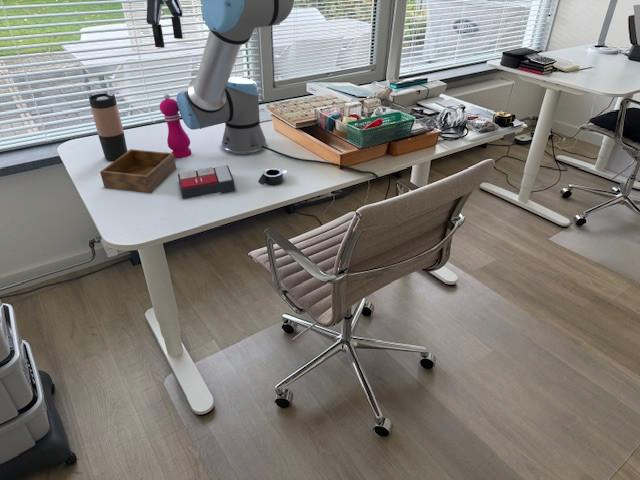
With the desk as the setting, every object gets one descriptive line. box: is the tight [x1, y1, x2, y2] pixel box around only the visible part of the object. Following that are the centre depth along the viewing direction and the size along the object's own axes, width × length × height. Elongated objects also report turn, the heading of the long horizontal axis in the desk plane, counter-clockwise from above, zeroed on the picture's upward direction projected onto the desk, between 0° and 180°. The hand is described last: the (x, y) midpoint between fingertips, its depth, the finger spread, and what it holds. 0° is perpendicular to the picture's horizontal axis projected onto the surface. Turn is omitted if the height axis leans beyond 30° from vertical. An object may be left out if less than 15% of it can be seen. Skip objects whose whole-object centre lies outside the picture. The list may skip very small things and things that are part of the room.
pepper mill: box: [159, 93, 193, 160], centre depth 148 cm, size 7×7×20 cm
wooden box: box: [99, 148, 177, 194], centre depth 138 cm, size 15×17×5 cm
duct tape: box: [257, 167, 288, 187], centre depth 139 cm, size 8×10×3 cm
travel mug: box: [88, 93, 128, 163], centre depth 146 cm, size 8×8×20 cm
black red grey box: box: [177, 164, 236, 200], centre depth 135 cm, size 11×4×15 cm
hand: (169, 42), depth 148 cm, fingers open, 13 cm apart
